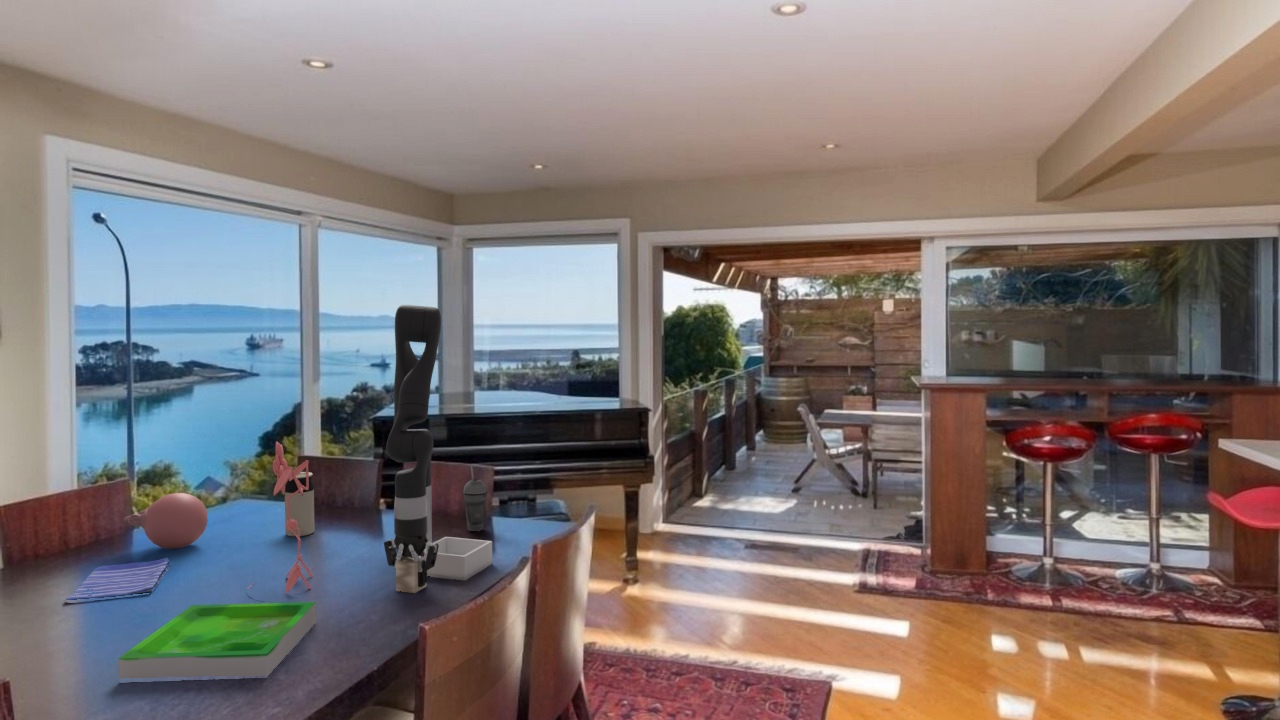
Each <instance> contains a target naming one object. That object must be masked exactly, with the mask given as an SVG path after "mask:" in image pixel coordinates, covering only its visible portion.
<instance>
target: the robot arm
mask: <svg viewBox="0 0 1280 720" xmlns="http://www.w3.org/2000/svg"><path fill="white" fill-rule="evenodd" d="M441 325H442V315H441V311H440V310H439V308H438V307H434V306H427V305H425V306H424V305H414V304H401V305H399V306H398V308H397V309H396V312H395V317H394V341H395V344H394V345H395V371H394V384H393V401H394V402H393V404H394V405H393V406H394V408H393V409H394V411H393V412H394V415H393V425H392V428H391V430H390V432H389V434H388V438H387V441H386V445H385V450H386V454H387V456H388V457H389V458H390V459H391V460H394V461H395V462H397V463H403V464H404V463H416V464H415V466H414V467H410V468H408V469H402V470H400V471H398V472H396V473H395V477H394V505H393V513H394V514H393V517H394V518H393V520H394V523H393V524H394V525H393V528H394V530H393V532H394V538H390V539H387V540H385V541H383V546H384V548H383V549H384V551H385V556H386V561H387V565H388V566H389V567H394V568H395V570H396V561H401V560H403V559H405V558H407V557H411V558H413V560H414V563H418V571H419V572H418V587H423V586H424V585H425V584H426V583H428V576H427V570H429V569H431V568H432V567H434V566H435V562H436V557H437V552H438V547H439V545H438V544H437V543H435V544H432V543H433V542H432V540H433V539H432V534H433V533H432V529H433V528H432V525H433V524H432V453H433V449H434V438H433V436H432V433H431V431H430V430H429V429H428V428H417V429H415V428H413V429H411V428H410V429H408V428H409V427H410V426H414V425H416V424H421V423H423V422H425V421H426V420H427V419H428V417H429V406H430V405H429V403H430V397H431V396H430V395H431V383H432V378H433V374H434V368H435V364H436V359H437V354H438V348H439V342H440V337H441V327H442V326H441ZM410 342H411V343H420V344H421V343H423V344H425V346H424V350H423V352H422V354H421V356H420V358H418V357H417V355H416V354H415V353H414V351H413V348H412V345H411V343H410ZM425 548H427V551H426V552H428V553H427V557H426V554H425ZM418 556H420V558H419V557H418ZM421 561H422V563H421Z"/></svg>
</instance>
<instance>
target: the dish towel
mask: <svg viewBox="0 0 1280 720" xmlns="http://www.w3.org/2000/svg"><path fill="white" fill-rule="evenodd" d="M171 567H172V563H170V561H169V558H168V557H164V558H161V559H157V560H151V561H143V562H130V563H125V564H113V565H111V564H110V565H103V566H99V567H96V568H94V569H93V570H92V572H91V573H90V574H89V575H88V576H87V577H86V578H85V579H86V580H85V579H84V580H83V582H81V584H80V585H79V586H77V587H76V589H77V590H76V589H75V590H74V591H75V592H74V591H73V592H74V593H73V592H72V593H73V594H81V593H84V594H85V593H92V592H94V593H96V592H97V594H85V595H84V594H82V595H71V594H70V595H71V596H70V595H69V596H68V597H67V598H66V599H65V600H77V599H89V598H104V597H116V596H125V595H133V594H143V593H151V591H152V590H153V589H154V588H155V587H156V586H159V584H160V583H159V581H160V580H161V578H162V577H163V575H164V574H165V572H167V571H168V572H169V570H170V569H171ZM169 568H170V569H169ZM168 569H169V570H168ZM168 572H167V573H168ZM163 578H164V577H163ZM161 581H162V580H161ZM161 581H160V582H161ZM158 583H159V584H158ZM156 588H157V587H156ZM156 588H155V589H156ZM87 589H90V590H91V589H93V591H88V592H83V590H87ZM98 592H100V593H98ZM101 592H102V593H101ZM151 594H152V593H151ZM88 595H92V596H88Z"/></svg>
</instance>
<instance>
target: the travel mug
mask: <svg viewBox="0 0 1280 720" xmlns="http://www.w3.org/2000/svg"><path fill="white" fill-rule="evenodd" d="M313 475H314V474H313V473H312V472H310V471H308V479H309V489H308V490H306V489H304V490H303V496H301V494H300V492H298V493H296V494H295V495H294V496H292V497H291V498H289V508H290V519H294V520H296V521H297V523H298V527H297V528H299V529H300V537H306V536H309V535H312V534H313V533H314V532H315V488H314V487H315V486H314V482H313V480H312V478H313ZM289 478H290V477H289ZM296 478H297V479H298V480H299V482H300V483H301V484H302V486H305V487H306V471H301V472H300V473H299V474H298V475H297V476H296ZM297 490H299V489H298V487H297V484H296V482H295V480H294V479H292V480H291V481H289V479H288V481H287V482H286V484H285V493H284V511H285V512H284V515H285V516H284V524H285V525H284V527H285V528H284V530H285V533H284V534H285V535H286V536H288V537H293V538H295V537H296V536H295V535H294V534H293V532H292V531H289V530H288V529H287V528H286V523H287V521H288V520H289V518H288V510H287V502H286V499H287V497H288V496H290V495H291V494H293V493H294V492H296V491H297ZM293 531H294V532H295V533H296V535H297V536H298V529H295V530H293ZM296 538H297V537H296Z"/></svg>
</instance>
